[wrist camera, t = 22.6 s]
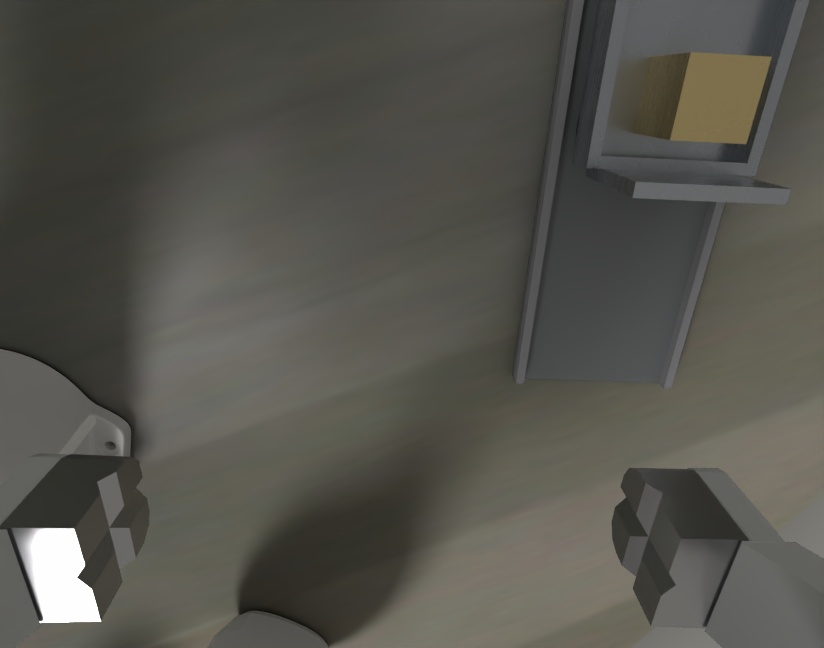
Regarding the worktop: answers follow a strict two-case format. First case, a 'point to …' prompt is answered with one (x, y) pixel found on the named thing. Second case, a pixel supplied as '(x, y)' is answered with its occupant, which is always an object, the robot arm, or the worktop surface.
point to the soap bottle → (265, 633)
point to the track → (605, 256)
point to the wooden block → (701, 97)
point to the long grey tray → (623, 84)
